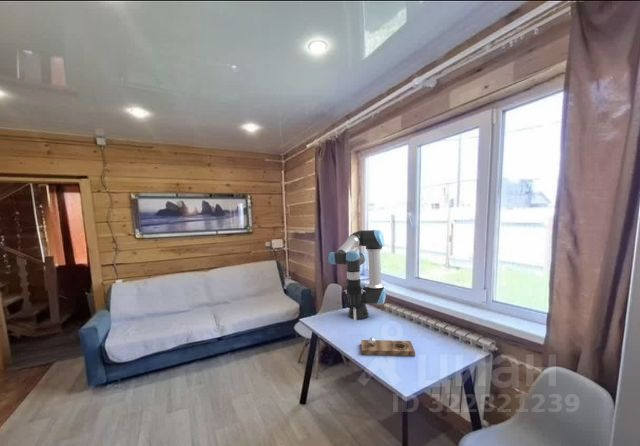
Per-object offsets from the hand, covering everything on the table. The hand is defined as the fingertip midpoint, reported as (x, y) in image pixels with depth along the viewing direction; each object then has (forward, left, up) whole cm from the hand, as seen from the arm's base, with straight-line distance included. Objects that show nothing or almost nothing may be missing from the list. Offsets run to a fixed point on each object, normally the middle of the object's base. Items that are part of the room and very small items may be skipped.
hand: (355, 320), depth 151 cm
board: (0, +17, -17) cm, 24 cm away
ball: (0, +9, -12) cm, 15 cm away
